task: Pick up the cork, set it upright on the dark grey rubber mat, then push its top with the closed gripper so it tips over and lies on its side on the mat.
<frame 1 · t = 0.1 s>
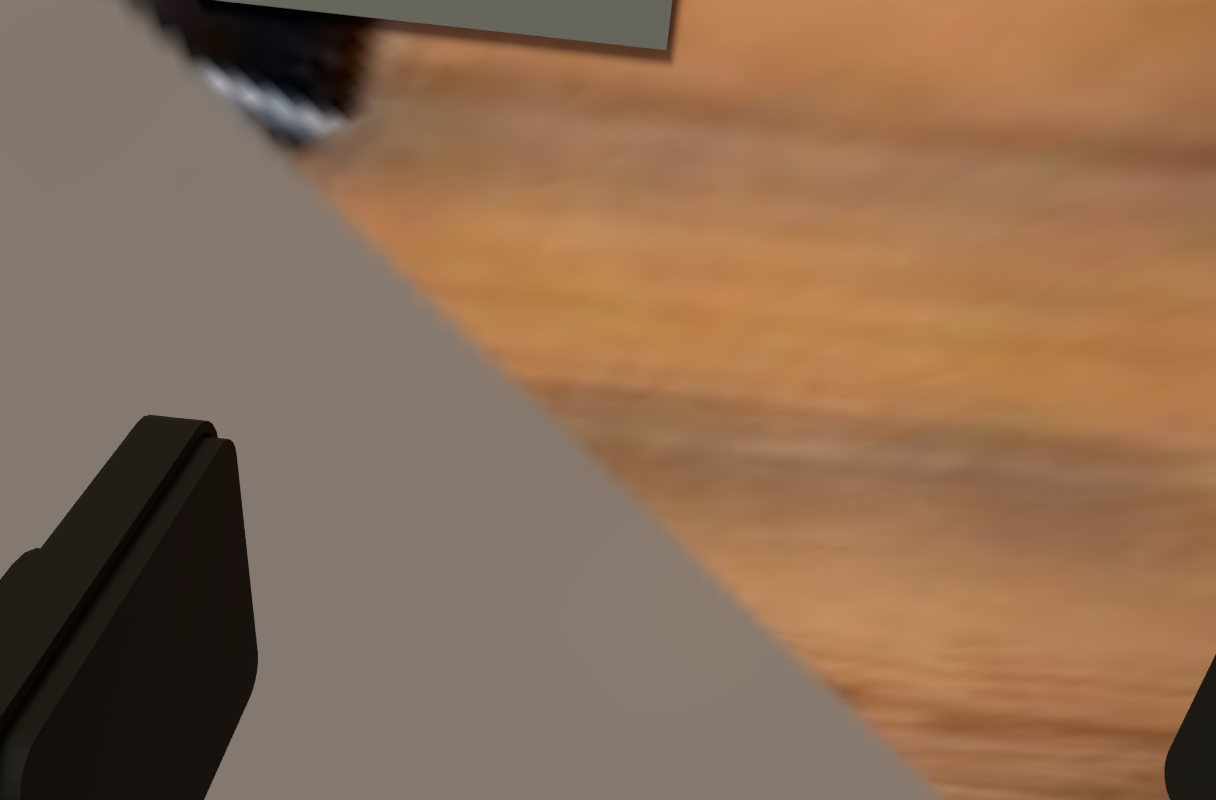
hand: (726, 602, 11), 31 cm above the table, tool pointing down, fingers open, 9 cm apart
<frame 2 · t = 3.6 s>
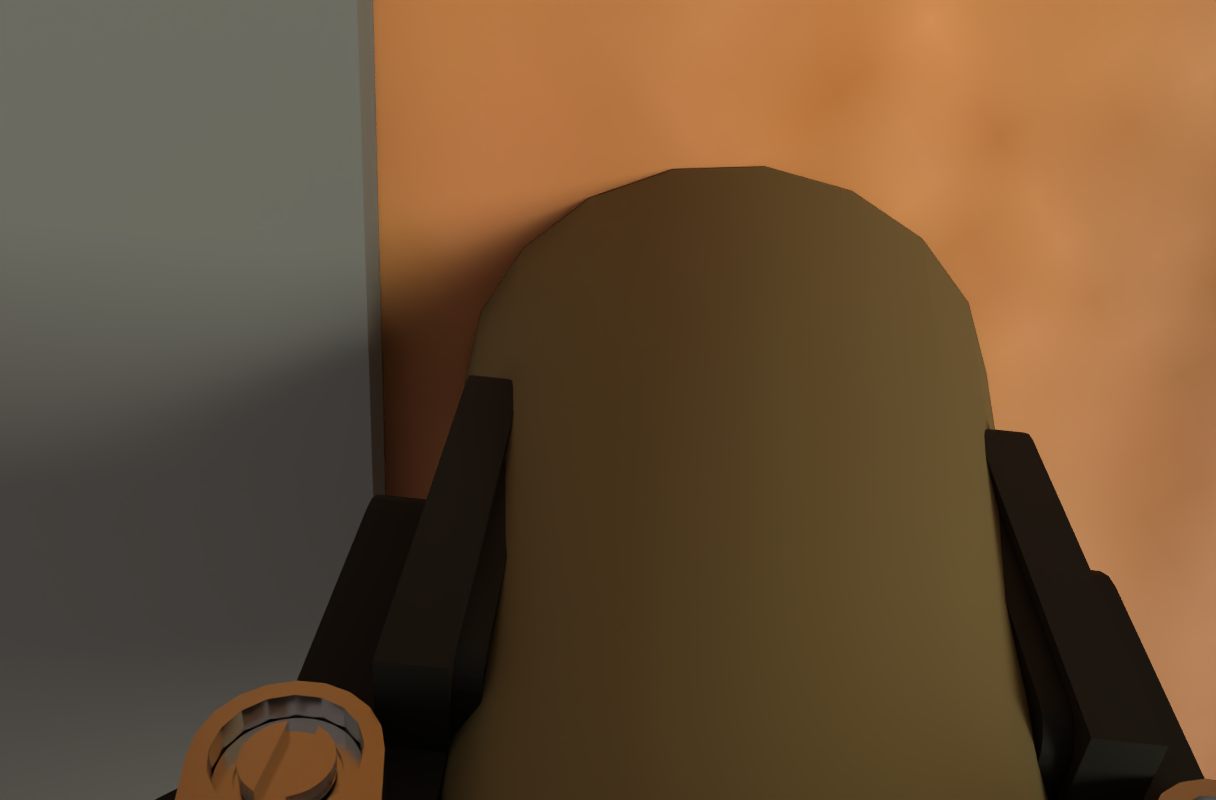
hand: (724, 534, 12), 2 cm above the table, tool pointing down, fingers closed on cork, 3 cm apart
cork: (720, 402, 14), on the table, touching gripper
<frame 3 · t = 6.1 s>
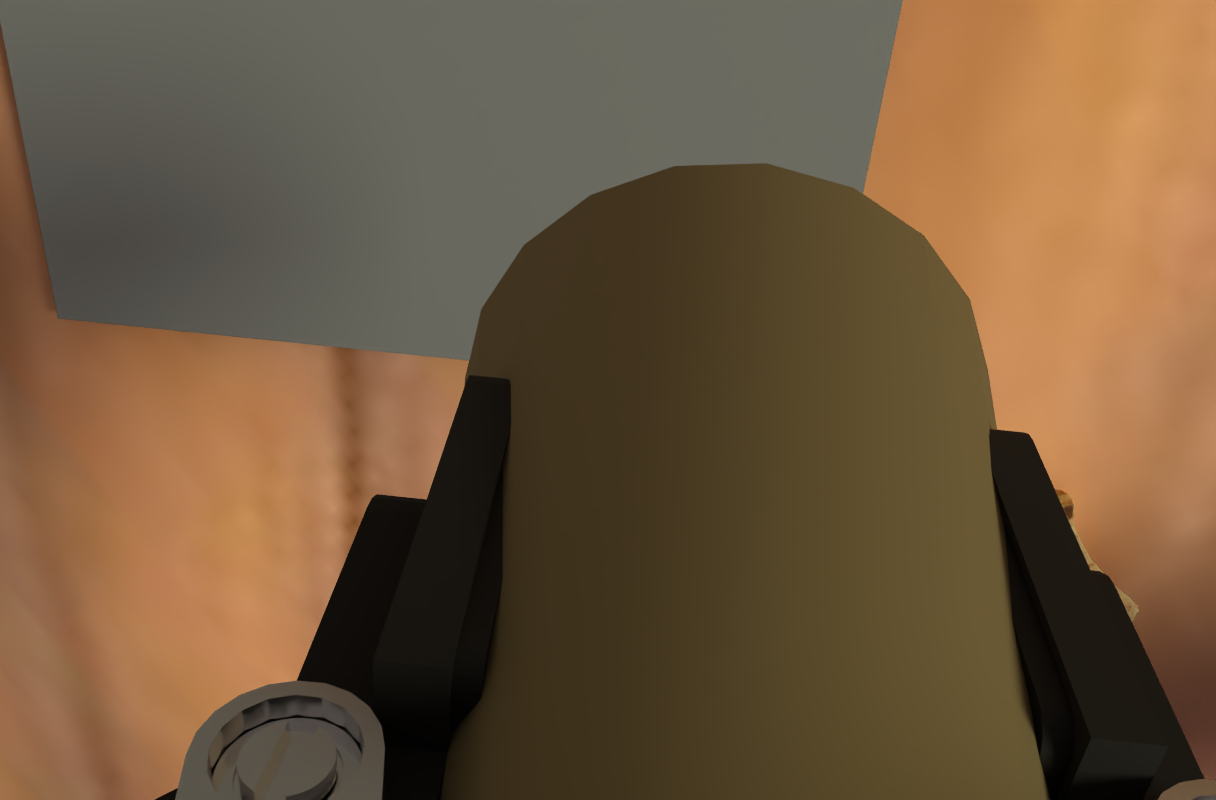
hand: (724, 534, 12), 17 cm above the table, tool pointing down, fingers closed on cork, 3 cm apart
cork: (721, 400, 14), point 15 cm above the table, touching gripper
slate mat: (442, 40, 26), on the table
shard: (908, 587, 35), on the table
when the fingers open (4 cm above the table, at t = 8.8 s): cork drops 1 cm, resting on slate mat.
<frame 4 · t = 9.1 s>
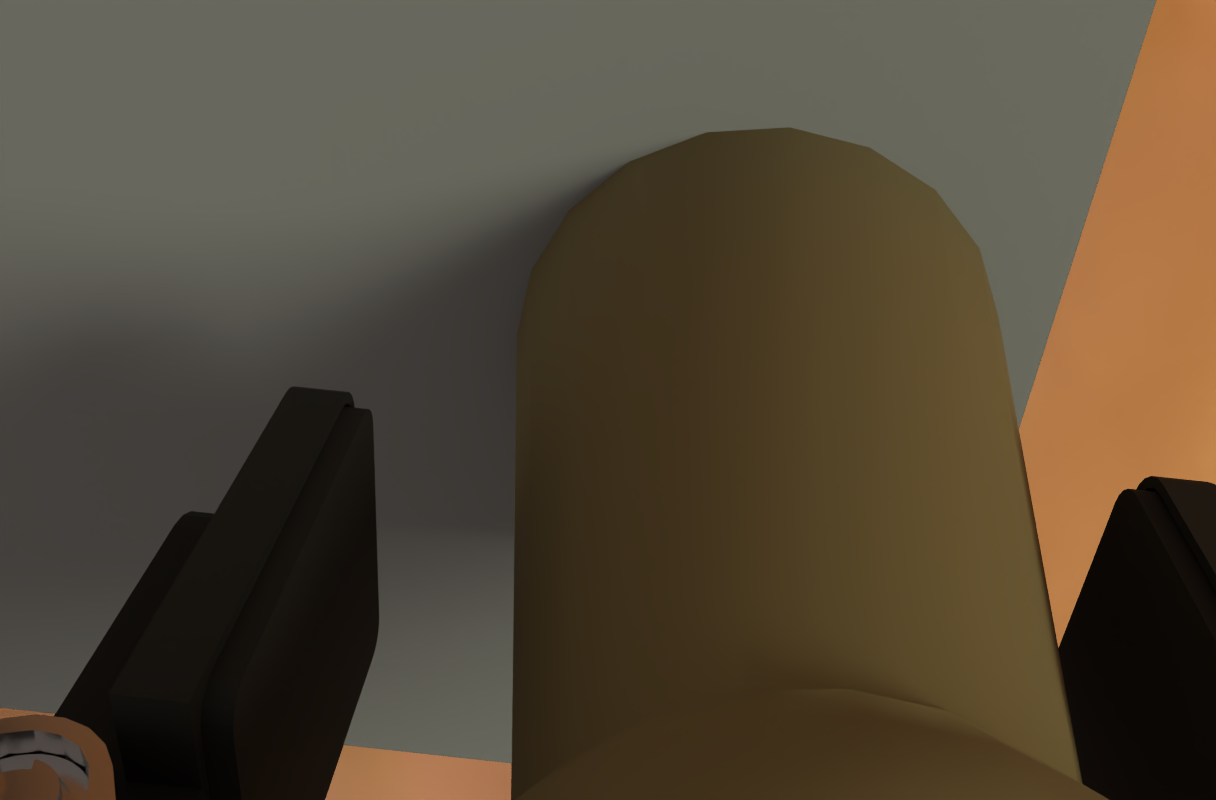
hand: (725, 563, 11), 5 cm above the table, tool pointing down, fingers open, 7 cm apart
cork: (752, 350, 15), resting on slate mat
slate mat: (265, 285, 15), on the table
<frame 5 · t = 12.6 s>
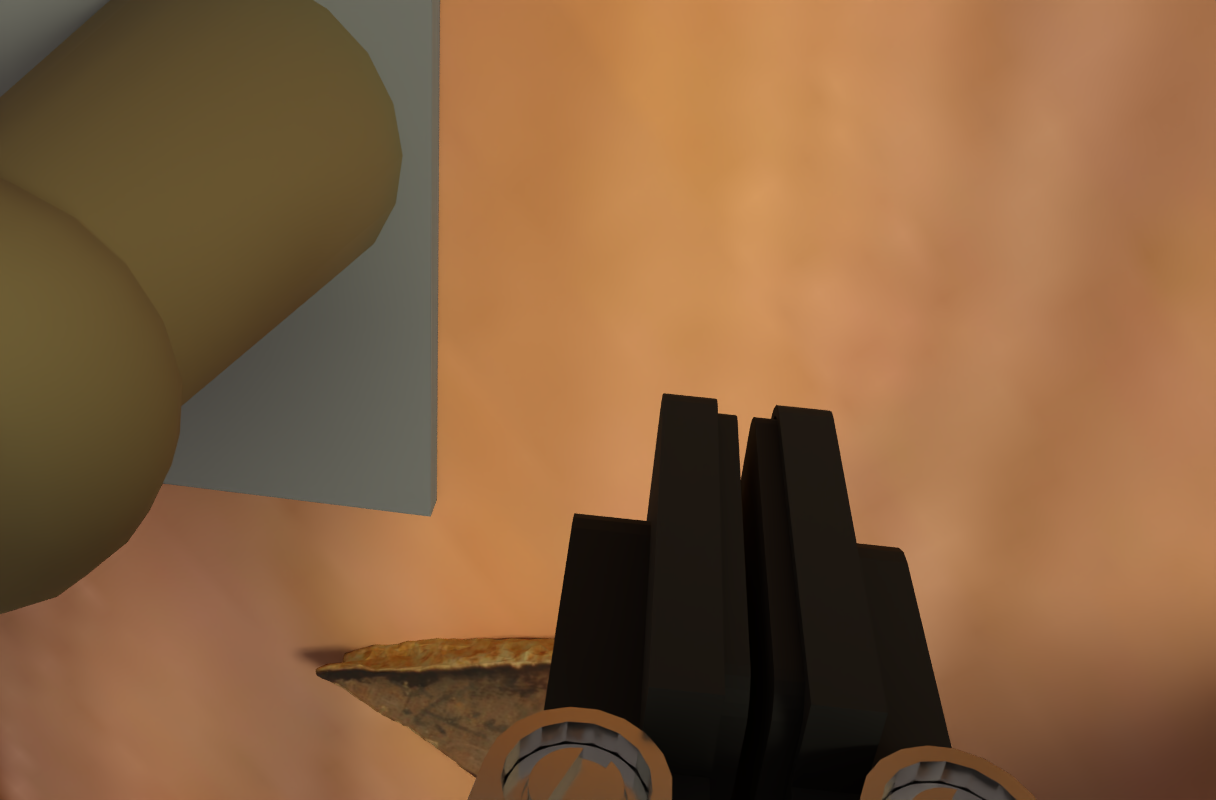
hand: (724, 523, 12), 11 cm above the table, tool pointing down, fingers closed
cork: (242, 135, 21), resting on slate mat
shard: (594, 728, 30), on the table
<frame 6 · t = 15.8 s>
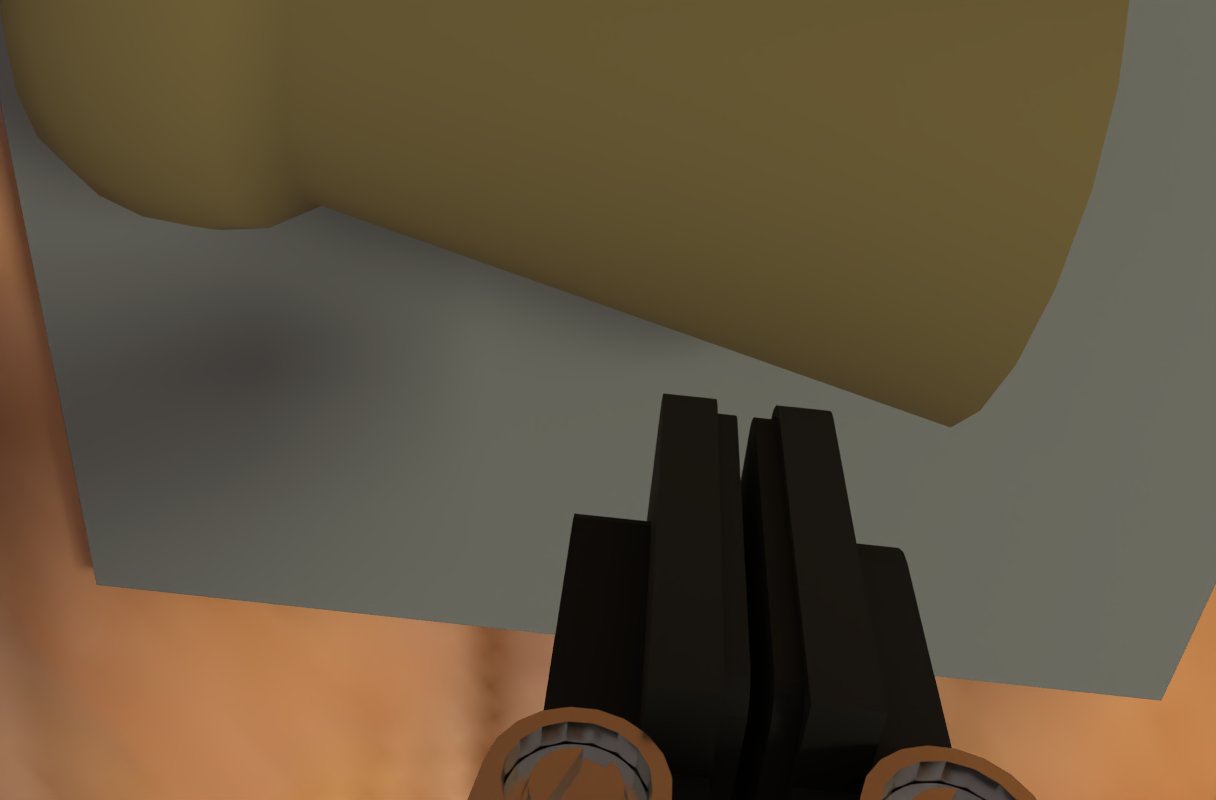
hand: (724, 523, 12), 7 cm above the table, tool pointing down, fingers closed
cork: (1018, 174, 13), point 4 cm above the table, touching slate mat
slate mat: (671, 234, 18), on the table
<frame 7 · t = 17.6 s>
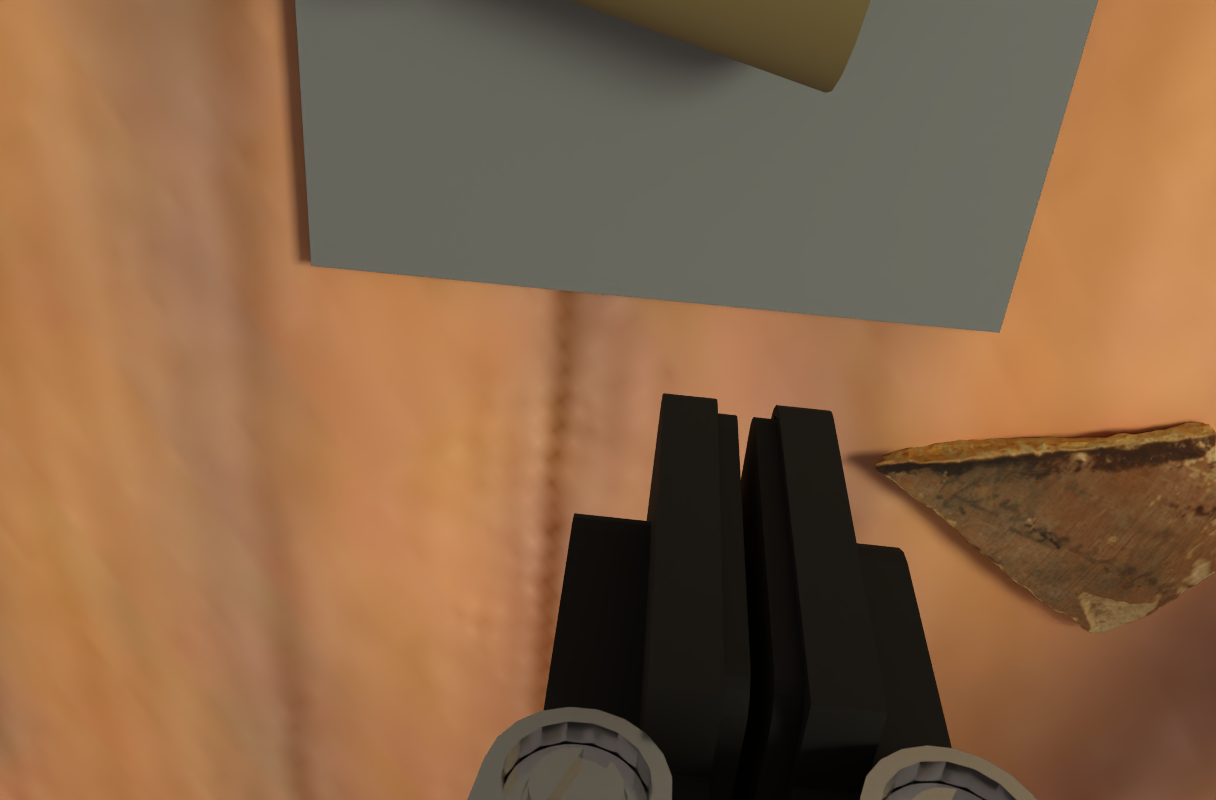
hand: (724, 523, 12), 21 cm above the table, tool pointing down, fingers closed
slate mat: (687, 11, 30), on the table
shard: (1052, 516, 38), on the table
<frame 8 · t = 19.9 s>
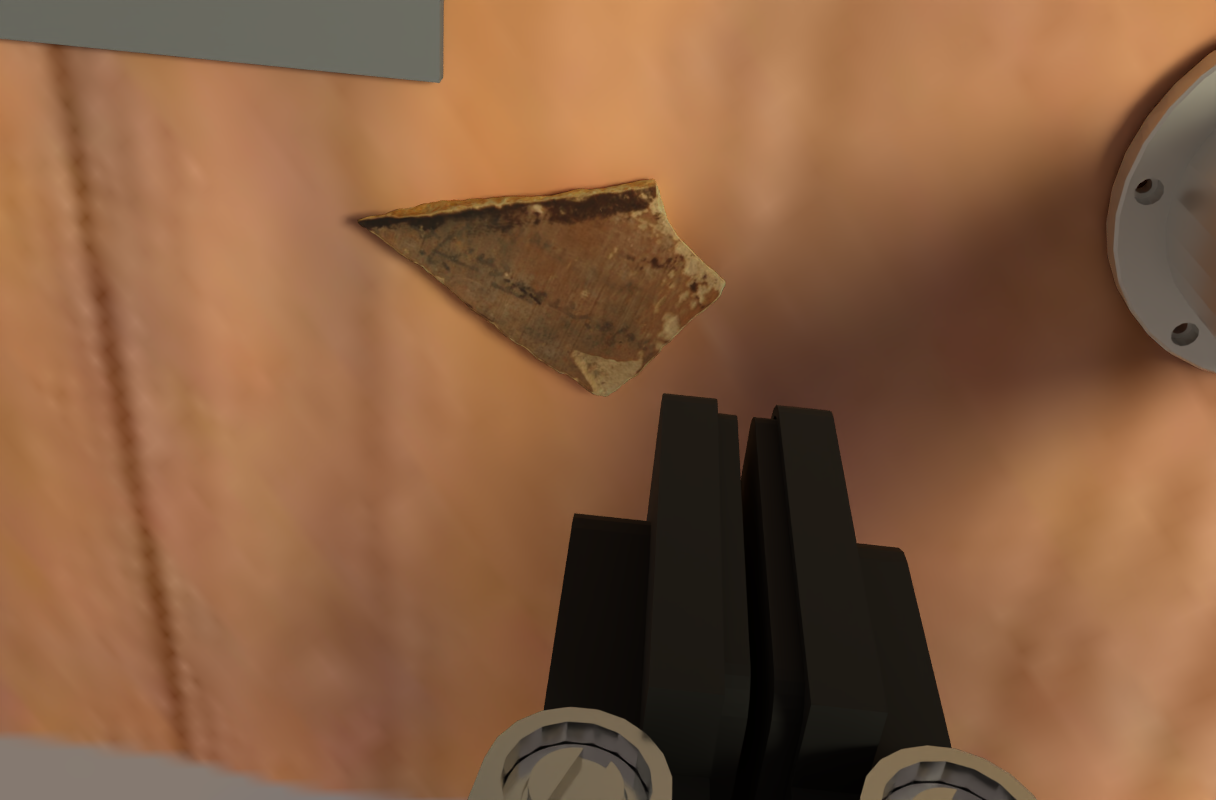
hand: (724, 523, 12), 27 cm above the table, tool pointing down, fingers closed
shard: (555, 284, 41), on the table
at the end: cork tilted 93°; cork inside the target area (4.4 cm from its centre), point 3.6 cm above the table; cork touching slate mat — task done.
